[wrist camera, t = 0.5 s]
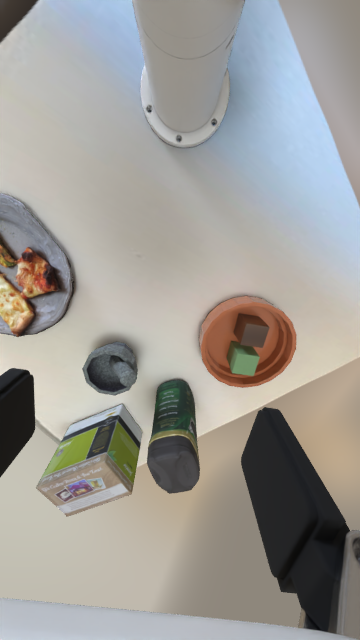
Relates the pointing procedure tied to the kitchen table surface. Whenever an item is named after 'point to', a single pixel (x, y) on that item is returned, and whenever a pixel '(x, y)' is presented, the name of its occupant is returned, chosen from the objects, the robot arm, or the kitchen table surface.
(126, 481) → the tea box
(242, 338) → the walnut block
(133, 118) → the kitchen table surface
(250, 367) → the sage-green block
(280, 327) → the bowl
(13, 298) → the food plate
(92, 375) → the mortar and pestle
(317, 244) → the kitchen table surface
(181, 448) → the coffee jar
